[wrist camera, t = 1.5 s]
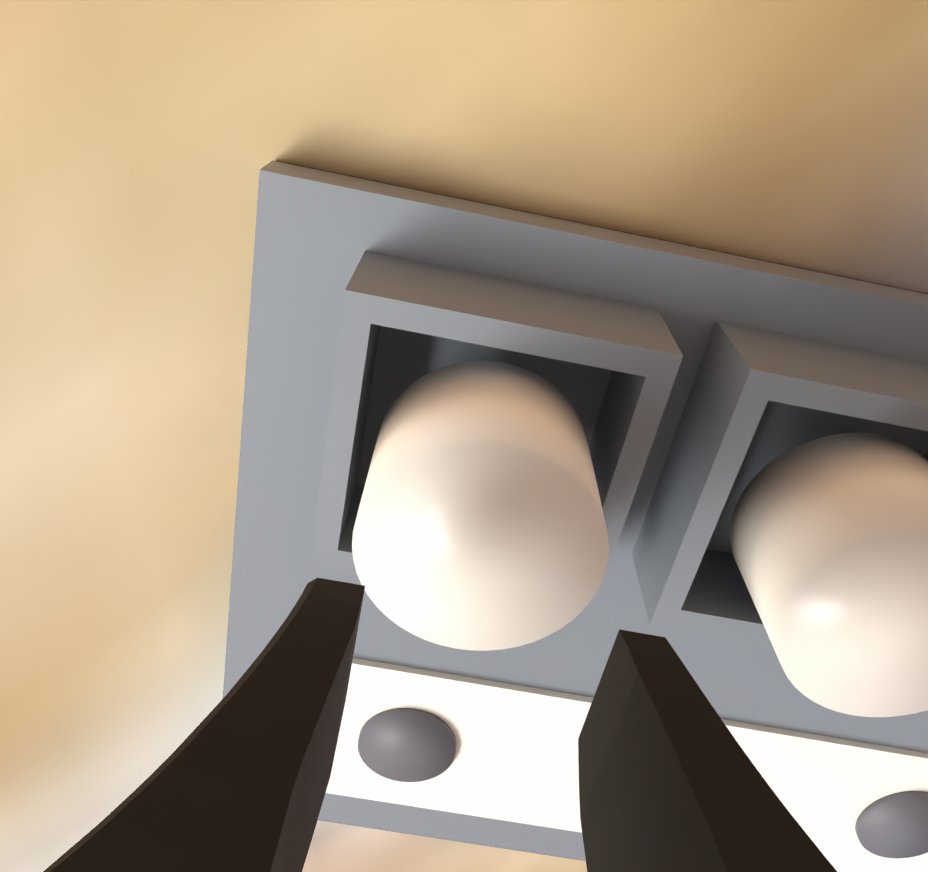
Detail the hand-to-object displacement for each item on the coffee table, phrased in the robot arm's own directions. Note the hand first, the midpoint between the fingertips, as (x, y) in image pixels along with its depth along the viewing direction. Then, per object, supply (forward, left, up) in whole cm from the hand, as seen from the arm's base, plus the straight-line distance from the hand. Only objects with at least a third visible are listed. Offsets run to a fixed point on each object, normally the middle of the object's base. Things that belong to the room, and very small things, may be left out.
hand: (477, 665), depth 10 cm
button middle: (0, -7, -5) cm, 9 cm away
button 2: (0, 0, -5) cm, 5 cm away
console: (-5, -7, -8) cm, 12 cm away
